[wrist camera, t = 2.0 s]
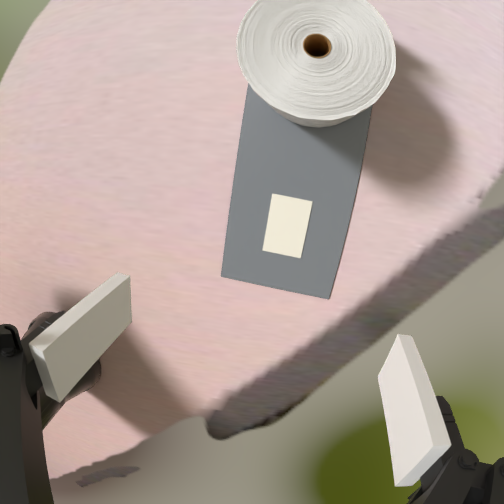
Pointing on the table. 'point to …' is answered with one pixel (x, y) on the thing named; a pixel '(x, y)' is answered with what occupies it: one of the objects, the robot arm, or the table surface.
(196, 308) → the table surface
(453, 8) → the table surface
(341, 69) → the toilet tissue
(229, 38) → the table surface
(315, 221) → the label mat
